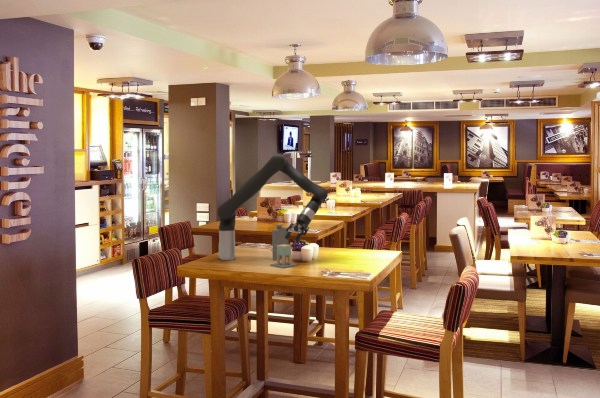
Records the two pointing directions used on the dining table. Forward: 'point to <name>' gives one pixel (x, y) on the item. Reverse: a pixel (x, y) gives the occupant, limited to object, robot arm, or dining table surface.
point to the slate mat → (284, 265)
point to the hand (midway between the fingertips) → (290, 239)
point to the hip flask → (278, 239)
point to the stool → (283, 253)
